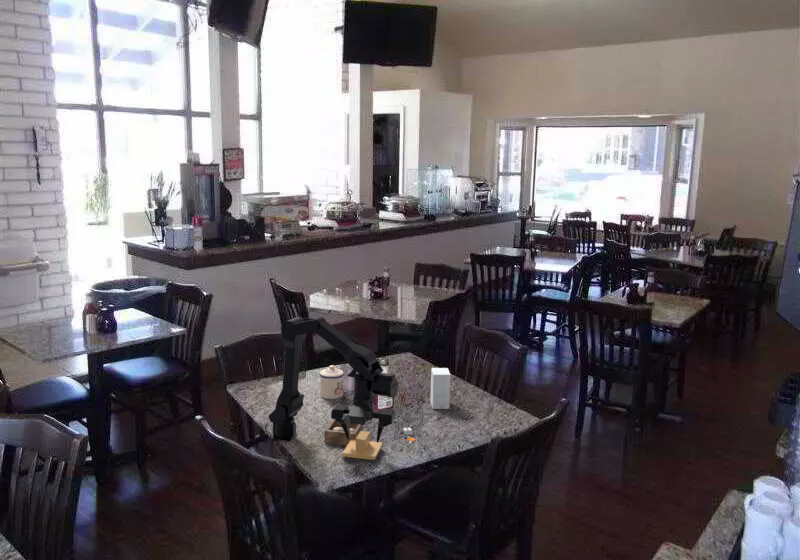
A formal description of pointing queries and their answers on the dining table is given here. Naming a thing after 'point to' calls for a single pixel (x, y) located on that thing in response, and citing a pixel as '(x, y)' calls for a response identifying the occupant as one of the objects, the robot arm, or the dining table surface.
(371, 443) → the lid
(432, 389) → the small box
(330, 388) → the teacup with lid
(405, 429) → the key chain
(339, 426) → the walnut box
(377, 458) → the rubber mat
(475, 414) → the dining table surface
